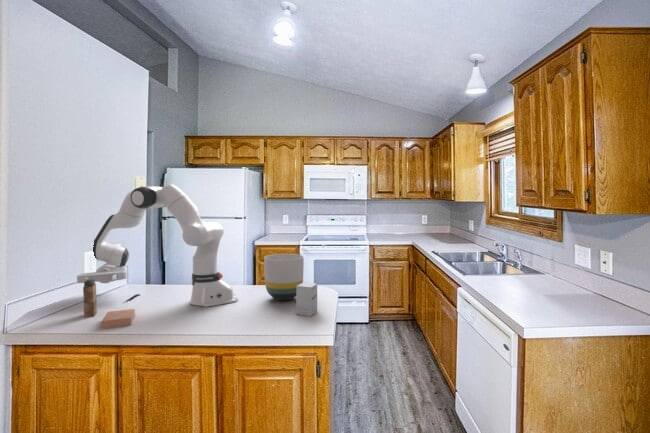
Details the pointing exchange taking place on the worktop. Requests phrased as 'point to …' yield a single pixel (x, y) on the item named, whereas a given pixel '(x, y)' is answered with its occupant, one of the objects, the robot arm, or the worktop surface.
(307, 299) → the supplement box
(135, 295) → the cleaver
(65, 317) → the worktop surface
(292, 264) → the planter
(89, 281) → the brown pepper mill
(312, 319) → the worktop surface
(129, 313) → the tile
